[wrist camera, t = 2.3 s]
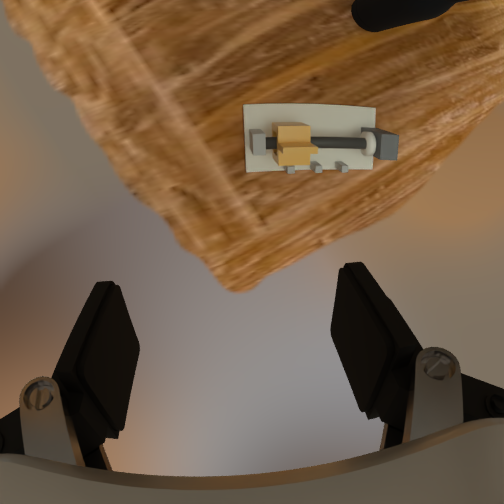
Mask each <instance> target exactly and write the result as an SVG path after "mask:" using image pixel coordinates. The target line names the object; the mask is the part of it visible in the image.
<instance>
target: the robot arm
mask: <svg viewBox="0 0 504 504" xmlns="http://www.w3.org/2000/svg"><path fill="white" fill-rule="evenodd" d="M331 337H332V339H333V342H334V344H335V347H336V349H337V352H338V354H339V357H340V360H341V362H342V365H343V367H344V370H345V373H346V375H347V378H348V380H349V383H350V385H351V388H352V390H353V394H354V396H355V399H356V401H357V404H358V407H359V409H360V411H361V412H365V413H366V415H367V418H368V420H369V419H373V418H377V417H380V419H381V421H382V422H384V423H385V424H384V429H383V434H382V440H381V445H380V450H379V451H377V452H373V453H369V454H366V455H362V456H358V457H354V458H350V459H345V460H342V461H337V462H332V463H327V464H322V465H317V466H311V467H306V468H299V469H293V470H286V471H279V472H270V473H261V474H250V475H236V476H212V477H210V476H208V477H185V476H158V475H144V474H132V473H124V472H115V471H113V470H112V468H111V465H110V463H109V460H108V457H107V455H106V452H105V450H104V447H103V443H104V442H105V439H106V438H113V439H118V436H119V431H122V430H123V429H124V426H125V421H126V415H127V410H128V405H129V399H130V394H131V389H132V384H133V379H134V375H135V370H136V366H137V361H138V356H139V351H140V345H139V341H138V338H137V336H136V333H135V330H134V327H133V325H132V322H131V319H130V316H129V313H128V310H127V307H126V304H125V301H124V298H123V295H122V292H121V289H120V286H119V285H115V283H114V282H113V281H102V282H97V283H96V284H95V286H94V288H93V289H92V291H91V293H90V296H89V297H88V299H87V301H86V303H85V305H84V307H83V309H82V311H81V313H80V315H79V317H78V319H77V321H76V323H75V325H74V327H73V330H72V332H71V334H70V336H69V338H68V340H67V342H66V345H65V347H64V349H63V352H62V354H61V356H60V358H59V361H58V363H57V365H56V368H55V370H54V373H53V375H52V378H49V377H44V376H42V377H37V378H35V379H33V380H31V381H29V382H28V383H27V384H26V385H25V386H24V388H23V389H22V391H21V394H20V398H19V404H20V405H19V406H20V407H19V408H17V409H16V410H14V411H13V412H11V413H9V414H8V415H6V416H5V417H3V418H1V419H0V504H504V389H502V388H500V387H497V386H494V385H491V384H489V383H486V382H484V381H481V380H478V379H475V378H473V377H470V376H467V375H465V374H462V373H461V370H460V365H459V362H458V360H457V359H456V357H455V356H454V355H453V354H452V353H451V352H449V351H447V350H445V349H443V348H439V347H429V348H425V349H424V350H423V348H422V347H421V345H420V343H419V342H418V340H417V339H416V337H415V336H414V334H413V332H412V331H411V329H410V328H409V326H408V325H407V323H406V322H405V320H404V319H403V317H402V316H401V314H400V313H399V311H398V310H397V308H396V307H395V305H394V304H393V302H392V301H391V300H390V299H389V298H388V297H387V296H386V295H385V293H384V292H383V290H382V289H381V288H380V286H379V285H378V283H377V282H376V280H375V279H374V278H373V276H372V275H371V273H370V272H369V271H368V269H367V268H366V266H365V265H364V264H363V263H362V262H353V263H346V264H345V265H344V268H340V269H339V274H338V282H337V289H336V296H335V302H334V309H333V315H332V322H331Z"/></svg>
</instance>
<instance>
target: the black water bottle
mask: <svg viewBox="0 0 504 504" xmlns="http://www.w3.org/2000/svg"><path fill="white" fill-rule="evenodd" d="M462 1H468V0H355V1H354V3H353V5H352V11H351V12H352V15H353V18H354V20H355V21H356V23H357V24H358V25H359V26H360V27H362V28H363V29H365V30H367V31H370V32H379V31H383V30H386V29H390V28H394V27H398V26H402V25H406V24H410V23H414V22H419V21H424V20H428V19H432V18H436V17H438V16H440V15H441V14H443V13H445V12H446V11H447V10H449V9H450V8H451V7H452V6H453V5H454V4H455V3H457V2H462Z"/></svg>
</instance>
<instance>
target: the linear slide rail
mask: <svg viewBox="0 0 504 504" xmlns="http://www.w3.org/2000/svg"><path fill="white" fill-rule="evenodd" d="M375 110H376V108H372V107H361V106H348V105H330V104H297V103H277V104H243V116H244V138H245V161H246V172H260V171H281V170H285V171H286V172H287V173H288V174H291V173H295V170H313V171H314V172H315V173H322V169H338V170H339V171H341V172H348V169H372V167H373V156H374V157H376V158H378V159H380V160H397V155H398V143H399V135H397V134H394V133H391V132H388V131H385V130H381V129H378V128H375ZM272 122H302V123H304V124H307V125H309V126H311V138H310V143H312V144H314V145H315V146H317V147H318V154H310V165H293V166H278V164H277V163H276V162H275V160H274V159H273V158H272V149H277V137H272Z"/></svg>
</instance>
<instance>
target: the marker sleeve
mask: <svg viewBox="0 0 504 504" xmlns="http://www.w3.org/2000/svg"><path fill="white" fill-rule="evenodd" d="M272 137H277V149H272V158H273V159H274V160H275V162H276V163H277V164H278V166H293V165H310V154H318V147H317V146H315V145H314V144H312V143H310V138H311V126H309V125H307V124H304V123H302V122H272Z"/></svg>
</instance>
